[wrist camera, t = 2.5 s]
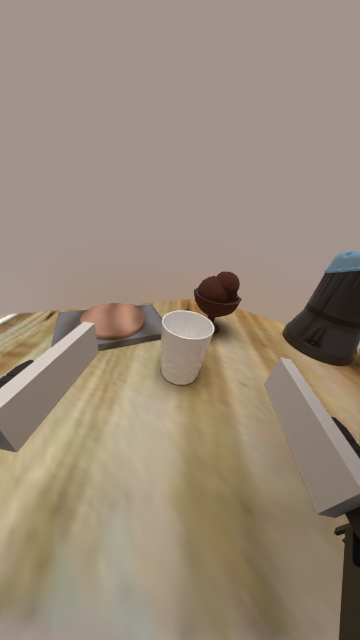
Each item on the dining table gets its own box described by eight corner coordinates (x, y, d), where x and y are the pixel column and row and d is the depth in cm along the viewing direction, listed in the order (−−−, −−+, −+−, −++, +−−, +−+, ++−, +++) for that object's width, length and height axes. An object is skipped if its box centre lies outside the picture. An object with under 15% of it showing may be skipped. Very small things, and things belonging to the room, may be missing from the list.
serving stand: (151, 309, 48) (152, 299, 46) (171, 337, 38) (172, 326, 36) (60, 318, 38) (56, 306, 36) (52, 359, 28) (47, 345, 26)
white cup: (153, 356, 32) (157, 310, 26) (192, 352, 34) (201, 310, 29) (162, 392, 25) (168, 341, 20) (208, 384, 28) (224, 336, 23)
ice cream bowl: (220, 318, 49) (235, 266, 41) (236, 341, 40) (259, 281, 32) (185, 316, 47) (194, 262, 39) (193, 340, 38) (208, 275, 30)
